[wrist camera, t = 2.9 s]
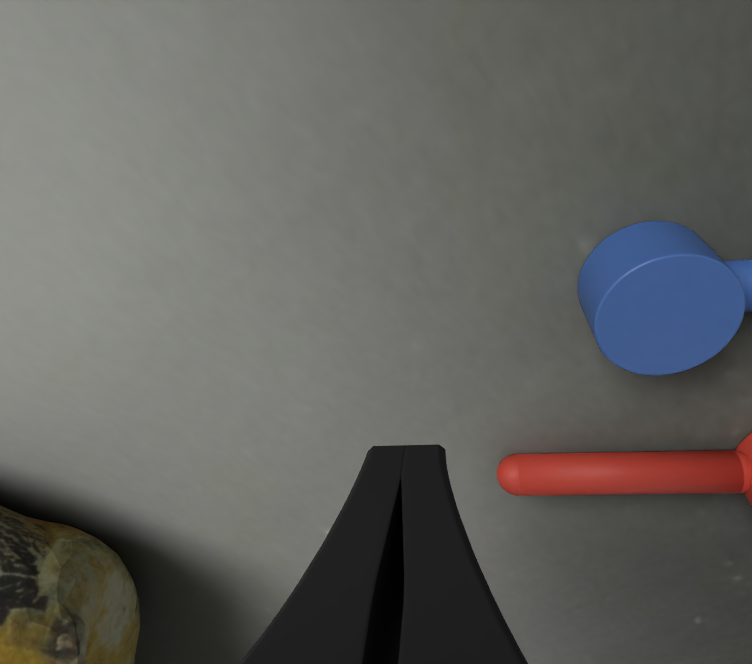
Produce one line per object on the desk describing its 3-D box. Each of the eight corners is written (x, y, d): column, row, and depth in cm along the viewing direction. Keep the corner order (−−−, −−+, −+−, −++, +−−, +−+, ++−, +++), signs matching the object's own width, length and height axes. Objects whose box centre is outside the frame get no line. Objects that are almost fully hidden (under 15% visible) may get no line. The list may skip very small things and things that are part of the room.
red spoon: (495, 494, 22) (501, 544, 20) (494, 422, 20) (500, 469, 18) (831, 491, 20) (872, 545, 18) (866, 412, 18) (915, 462, 16)
